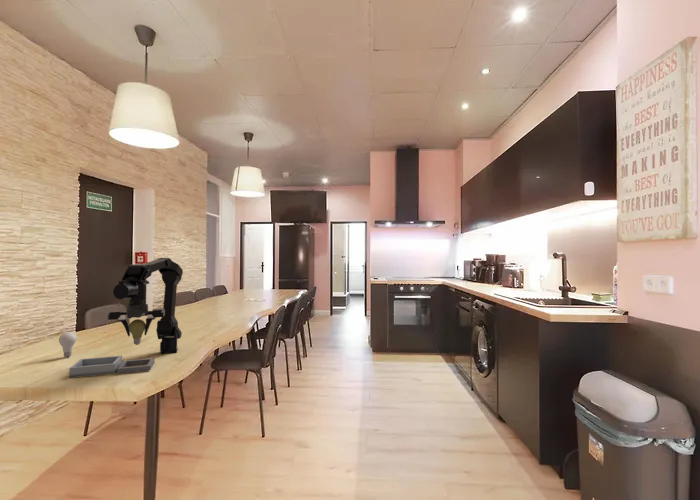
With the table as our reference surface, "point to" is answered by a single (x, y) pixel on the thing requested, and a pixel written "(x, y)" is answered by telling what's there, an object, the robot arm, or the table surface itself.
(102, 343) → the table surface
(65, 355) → the lightbulb
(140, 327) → the light bulb
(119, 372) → the socket collar
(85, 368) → the parts tray
